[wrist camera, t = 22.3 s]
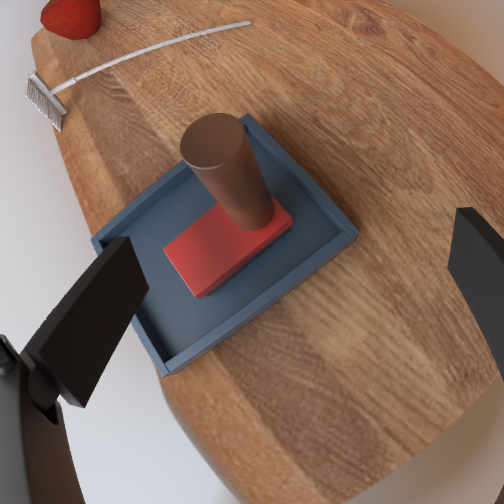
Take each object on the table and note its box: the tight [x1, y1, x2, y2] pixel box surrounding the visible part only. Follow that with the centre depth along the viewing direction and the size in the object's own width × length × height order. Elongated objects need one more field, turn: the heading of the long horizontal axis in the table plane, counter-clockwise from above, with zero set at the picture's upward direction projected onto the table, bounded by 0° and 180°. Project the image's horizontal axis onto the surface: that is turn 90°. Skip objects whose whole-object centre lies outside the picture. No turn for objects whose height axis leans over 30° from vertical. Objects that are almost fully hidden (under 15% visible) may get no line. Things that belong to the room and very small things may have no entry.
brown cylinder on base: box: [163, 113, 293, 299], centre depth 19 cm, size 8×4×12 cm, turn 128°
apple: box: [40, 0, 101, 40], centre depth 35 cm, size 11×11×12 cm
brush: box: [24, 20, 250, 132], centre depth 30 cm, size 4×28×9 cm, turn 107°
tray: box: [91, 113, 359, 377], centre depth 24 cm, size 18×14×2 cm
